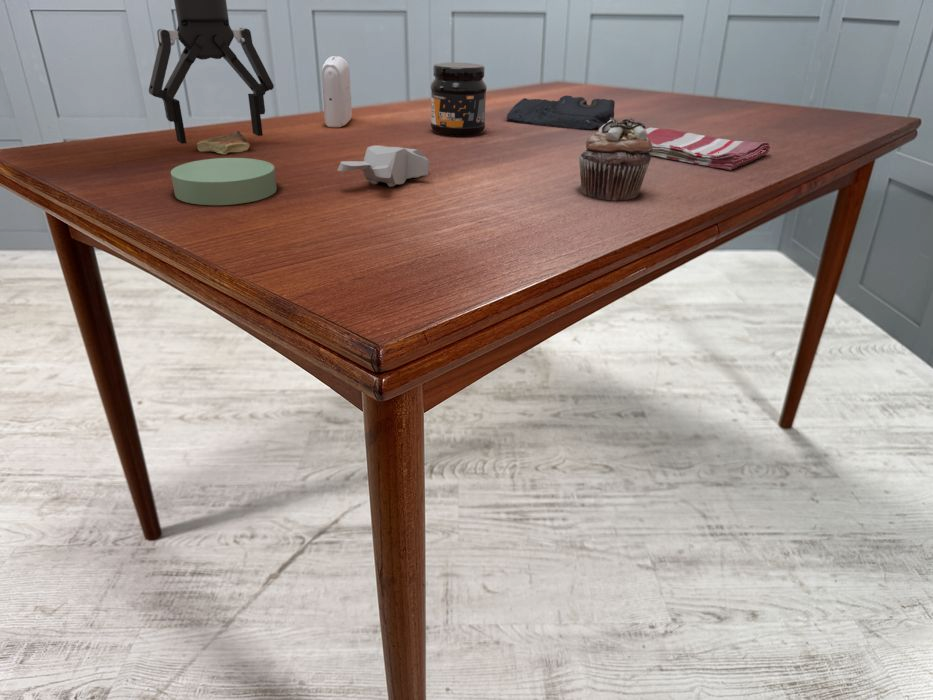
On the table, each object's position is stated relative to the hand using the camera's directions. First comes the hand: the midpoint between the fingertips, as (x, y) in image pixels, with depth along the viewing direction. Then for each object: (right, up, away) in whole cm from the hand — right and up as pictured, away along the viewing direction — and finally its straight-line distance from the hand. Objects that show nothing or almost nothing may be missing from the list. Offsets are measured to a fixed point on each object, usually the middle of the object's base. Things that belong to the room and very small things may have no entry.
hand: (221, 138), depth 112 cm
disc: (+9, -14, -23) cm, 28 cm away
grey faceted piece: (+30, -12, -16) cm, 36 cm away
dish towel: (+80, 0, +7) cm, 81 cm away
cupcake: (+61, -14, -18) cm, 65 cm away
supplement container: (+40, +7, +17) cm, 44 cm away
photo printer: (+16, +10, +23) cm, 29 cm away
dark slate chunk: (+62, +14, +31) cm, 70 cm away
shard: (0, -2, +1) cm, 2 cm away
